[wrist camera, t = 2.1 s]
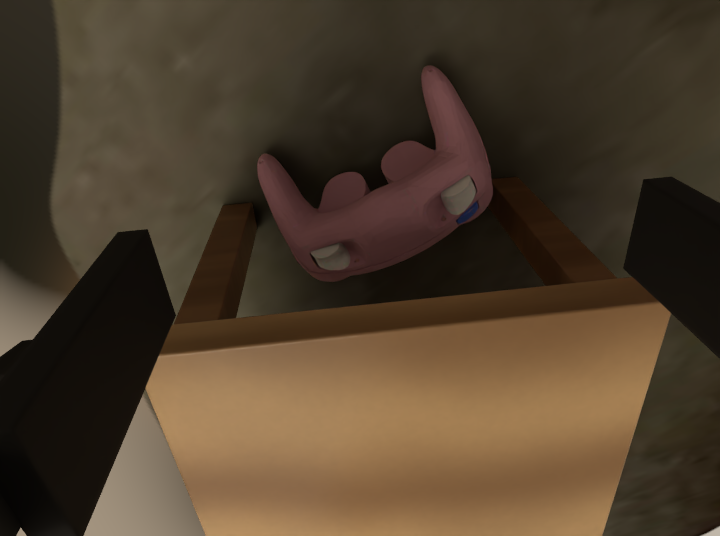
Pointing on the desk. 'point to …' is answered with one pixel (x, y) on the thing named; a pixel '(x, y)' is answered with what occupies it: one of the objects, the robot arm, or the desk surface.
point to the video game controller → (388, 196)
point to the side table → (410, 397)
